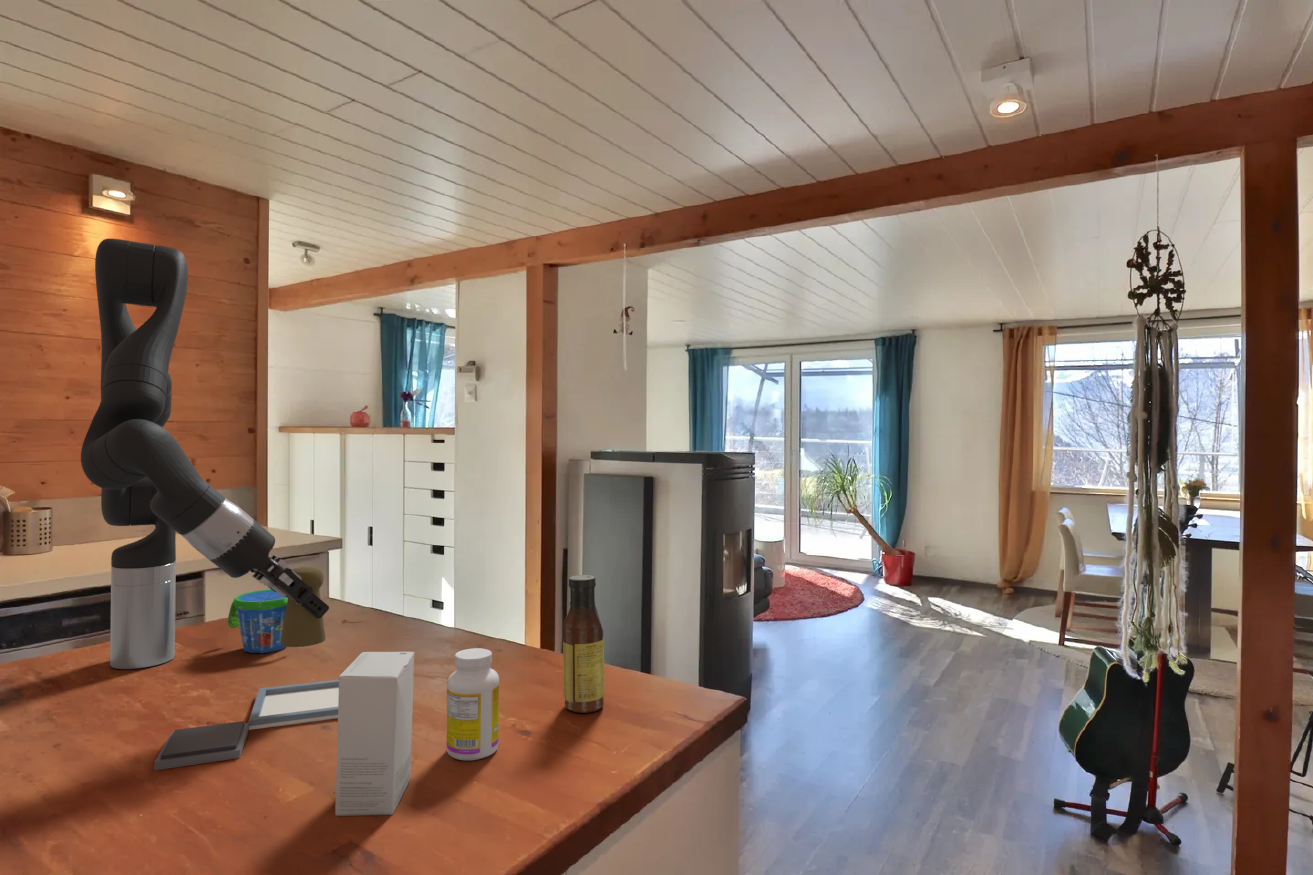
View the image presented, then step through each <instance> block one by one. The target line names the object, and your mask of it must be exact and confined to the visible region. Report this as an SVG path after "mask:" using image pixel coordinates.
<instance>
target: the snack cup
mask: <svg viewBox="0 0 1313 875" xmlns="http://www.w3.org/2000/svg"><path fill="white" fill-rule="evenodd" d="M287 601H288V598H287V597H284V596H281V595H280V594H279V593H277V592H274V591H273V590H271V589H270V588H269V589H261V590H260V589H259V590H254V591H248V592H246V593H241V594H239V595H236V596H235V597H234V598H233V601H232V603H231V604H230V609H229V612H228V617H227V625H228V627H229V628H230V629H235V628H238V627H239V632H240V637H241V643H242V647H243V651H244V652H248V653H251V654H264V653H265V654H266V653H271V652H276V651H280V650H284V648H286V646H283V645H281V637H282V631H283V625H284V619H285V613H286V607H287Z"/></svg>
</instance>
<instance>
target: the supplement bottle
mask: <svg viewBox="0 0 1313 875" xmlns="http://www.w3.org/2000/svg"><path fill="white" fill-rule="evenodd" d="M492 662H493V652H492V651H491V650H490V649H486V648H479V647H476V648H475V647H473V648H468V649H462V650H460V651H459V650H458V652H456V653H455V655H454V665H455V667H456V670H455V671H453V672H452V673H451V674H450V675H449V677H448V678H447V681H446V751H447V753H448V755H449V756H450V757H452V758H453V759H455V760H460V761H466V762H467V761H469V762H470V761H476V760H481V759H484V758H487V757H490V756H492V755H493V754H494V753H495V752H496V751H497V750H498V748H499V745H500V744H499V742H500V741H499V740H500V739H499V738H500V736H499V735H500V723H499V722H500V676H499V674H498V672H497V671H496V670H495V669H494V668H491V665H492Z"/></svg>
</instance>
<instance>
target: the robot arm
mask: <svg viewBox="0 0 1313 875" xmlns="http://www.w3.org/2000/svg"><path fill="white" fill-rule="evenodd" d="M94 260H95V261H94V273H95V283H96V284H95V287H96V294H97V295H96V296H97V305H98V315H99V326H100V338H101V339H100V340H101V342H100V343H101V353H100V354H101V358H100V360H101V361H100V362H101V364H100V368H101V369H100V403H99V406H98V408H97V410H96V412H95V413H94V416H93V418H92V419H91V423H90V425H89V427H88V429H87V432H86V434H85V437H84V440H83V442H82V446H81V451H80V463H81V468H82V471H83V473H84V475H85V476H86V478H87V479H88V481H90V482H91V483H93V484H94V485H95V486H96V487H98V488H101V490H100V491H101V492H100V493H101V496H100V500H101V501H100V507H101V508H100V509H101V514H102V516H103V520H104V522H105V523H106V524H108V525H109V526H113V527H130V526H131V527H135V526H150V525H151V526H152V525H153V526H154V527H155V528H154V529H153V531H151V532H150V533H149V534H147V535H146V536H145V537H141V539H138V540H136V541H135V540H134V542H130V543H127V544H124V545H121V546H118V547H117V548H115V549H113V551H112V552H111V557H110V559H111V561H110V562H111V563H110V564H111V565H110V566H111V567H110V568H111V569H110V642H109V643H110V645H109V646H110V647H109V649H110V650H109V656H110V657H109V658H110V659H109V660H110V661H109V667H111V668H113V669H116V670H117V669H119V670H133V669H142V668H148V667H149V668H150V667H154V666H157V665H161V664H164V663H167V662H169V661H171V660H173V659H174V658H175V654H176V653H175V651H176V650H175V649H176V647H175V646H176V644H175V643H176V642H175V641H176V640H175V638H176V637H175V635H176V577H177V576H176V572H177V570H176V569H177V568H176V567H177V565H176V564H177V563H176V562H177V561H176V560H177V552H176V551H177V550H176V549H177V548H176V547H177V546H176V534H177V533H178V534H179V535H180V536H181V537H182V538H184V539H185V540H186V541H187V542H188V544H189V545H191V547H192V548H194V550H195V551H196V552H197V551H198V552H199V553H200V554H201V555H202V556H204V558H206V559H208V561H210V562H211V563H213V564H214V565H215V566H216V567H217V568H218V569H220V570H221V571H223V572H224V573H225V574H226V575H227V576H229V577H231V578H234V579H236V578H237V579H238V578H240V577H244V576H245V575H247V574H248V573H249V572H250V573H254V574H252V575H251V577H252V578H254V579H255V580H256V581H257V582H259V583H260V584H263V585H264V586H266V587H267V588H269V590H270V589H271V590H273V591H274V592H277V593H279V594H280V595H281V596H284V597H287V598H288V596H289V597H290V598H291V599H293V600H294V601H295V603H296V604H299V605H301V606H303V607H304V608H305V609H306V610H308V611H309V612H310V613H312V614H313V615H314V616H315V617H316V618H321V617H322V616H324V615H325V614H326V613H328V611H329V609H330V606H329V605H328V604H327V603H325V602H324V601H323V600H322V599H320V598H321V597H320V598H318V597H317V596H316V595H315V594H313V592H314V591H313V590H312V588H311V587H309V586H308V585H307V584H305V583H304V582H303V581H302V579H301V577H300V576H299V575H298V574H296V573H295V572H294V571H293V570H292V569H291V568H290V567H289V566H288V563H287V562H286V561H285V560H283V559H282V558H281V557H277V556H275V555H272V556H271V557H270V556H269V554H270V553H271V551H272V550H273V548H274V546H275V544H276V538H275V536H274V535H273V534H272V533H271V532H270V531H268V530H267V529H266V528H265V527H264V526H262V525H261V524H260V523H259V522H257V521H256V520H255V519H254V518H253V517H252V516H250V515H249V514H248V513H247V512H246V511H245V510H244V509H242V508H241V507H240V506H239V505H237V504H235V502H232V501H230V500H229V499H227V498H226V497H225V496H224V495H223V494H221V493H220V492H219V491H218V490H216V488H214V487H213V486H212V485H211V484H210V483H208V482H207V481H206V480H205V479H204V478H203V477H201V475H200V474H199V472H198V471H197V470H196V467H195V466H194V464H193V463H192V461H191V460H190V459H189V457H188V456H187V454H186V453H185V451H184V450H183V448H182V446H181V445H180V443H179V442H178V441H177V440H176V439H175V437H174V436H173V435H172V434H171V432H169V431H168V430H167V429H165V428H164V426H165V425H166V424H167V423H168V422H167V421H168V420H169V419H170V416H171V413H172V391H173V390H172V389H173V388H172V385H173V384H172V383H173V382H172V377H171V375H170V373H169V368H170V362H171V356H172V352H173V349H174V346H175V342H176V338H177V337H178V336H177V335H178V331H179V328H180V324H181V320H182V317H183V316H182V315H183V311H184V306H185V303H186V302H185V301H186V296H187V292H188V291H187V290H188V277H189V273H188V271H189V270H188V263H187V259H186V256H185V254H184V253H183V252H182V251H181V250H179V249H177V248H173V247H169V246H166V245H160V244H159V245H158V244H151V243H145V242H139V241H133V240H127V239H120V238H105V239H102V240H101V241H100V242H99V244H98V246H97V248H96V252H95V259H94ZM127 305H136V306H142V307H151V308H152V307H154V308H155V310H154V311H153V313H152V314H151V316H150V317H149V318H148V319H147V320H146V321H145V322H144V323H142V325H140V326H139V327H138V328H137V329H136V326H134V323H133V321H132V318H131V316H130V314H129V311H128V307H127ZM300 587H302V588H303V589H304V590H303V591H302V592H301V593H300V594H299V595H298V596H296V595H295V593H296V591H297V590H298V589H299V588H300Z"/></svg>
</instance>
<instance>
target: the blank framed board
mask: <svg viewBox="0 0 1313 875" xmlns="http://www.w3.org/2000/svg"><path fill="white" fill-rule="evenodd" d="M338 702H339V679H332V680H324V681H322V680H321V681H316V682H315V681H313V682H306V683H296V684H287V685H280V686H270V687H268V686H267V687H260V688H258V692H257V694H256V698H255V701H254V704H253V708H252V710H251V712H250V716H249V720H248V723H249V731H252V730H258V729H264V728H265V729H266V728H267V729H268V728H272V727H281V726H288V725H296V724H303V723H304V724H305V723H310V722H318V721H325V720H327V721H328V720H333V719H338Z"/></svg>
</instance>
